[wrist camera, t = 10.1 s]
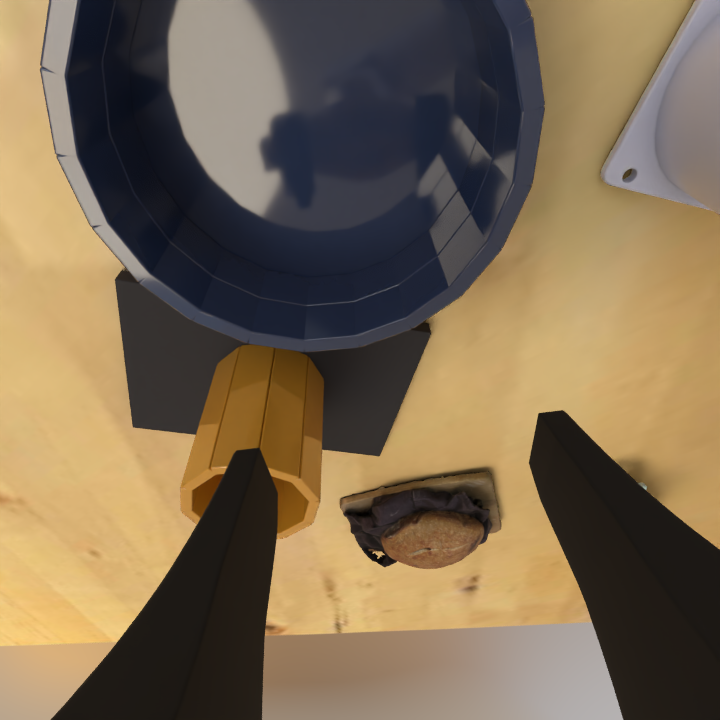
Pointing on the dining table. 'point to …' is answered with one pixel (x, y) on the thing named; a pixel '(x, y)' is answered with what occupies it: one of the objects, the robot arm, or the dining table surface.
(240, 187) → the pot
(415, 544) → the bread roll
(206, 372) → the pot holder
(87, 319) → the dining table surface
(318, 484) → the cup
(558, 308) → the dining table surface
